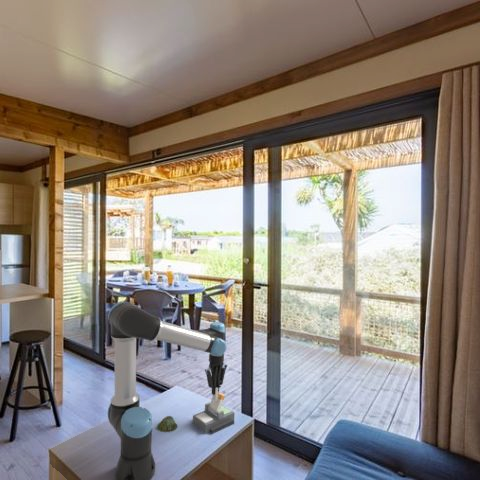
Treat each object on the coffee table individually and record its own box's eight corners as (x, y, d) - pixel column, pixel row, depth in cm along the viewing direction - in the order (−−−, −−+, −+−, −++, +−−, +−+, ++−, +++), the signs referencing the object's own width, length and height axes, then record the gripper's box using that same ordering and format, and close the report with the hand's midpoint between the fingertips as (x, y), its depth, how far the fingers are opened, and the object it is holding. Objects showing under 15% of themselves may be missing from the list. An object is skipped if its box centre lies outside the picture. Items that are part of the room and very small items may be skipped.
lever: (216, 415, 165) (222, 395, 167) (207, 409, 171) (213, 390, 173) (219, 415, 167) (226, 396, 169) (210, 409, 172) (216, 391, 174)
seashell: (154, 422, 159) (162, 412, 169) (153, 431, 159) (161, 420, 169) (174, 426, 158) (181, 415, 168) (173, 435, 158) (180, 423, 168)
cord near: (212, 434, 159) (212, 430, 159) (209, 432, 160) (209, 428, 160) (234, 423, 168) (234, 420, 168) (231, 422, 169) (231, 418, 169)
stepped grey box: (206, 433, 159) (206, 418, 158) (192, 423, 167) (192, 408, 167) (234, 420, 171) (235, 406, 171) (220, 411, 179) (220, 397, 179)
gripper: (210, 358, 162) (209, 407, 162) (231, 353, 170) (229, 398, 171) (201, 354, 167) (200, 401, 167) (221, 349, 176) (220, 393, 176)
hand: (215, 399), depth 169 cm, fingers closed
